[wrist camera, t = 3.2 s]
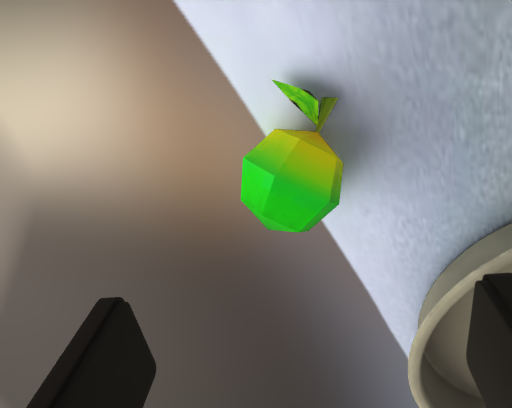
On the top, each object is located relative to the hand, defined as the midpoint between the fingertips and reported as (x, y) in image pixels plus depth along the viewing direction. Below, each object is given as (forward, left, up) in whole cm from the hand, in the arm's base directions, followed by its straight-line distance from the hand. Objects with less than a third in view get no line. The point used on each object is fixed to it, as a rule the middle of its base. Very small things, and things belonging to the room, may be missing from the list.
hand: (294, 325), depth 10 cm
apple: (-2, -5, -12) cm, 13 cm away
